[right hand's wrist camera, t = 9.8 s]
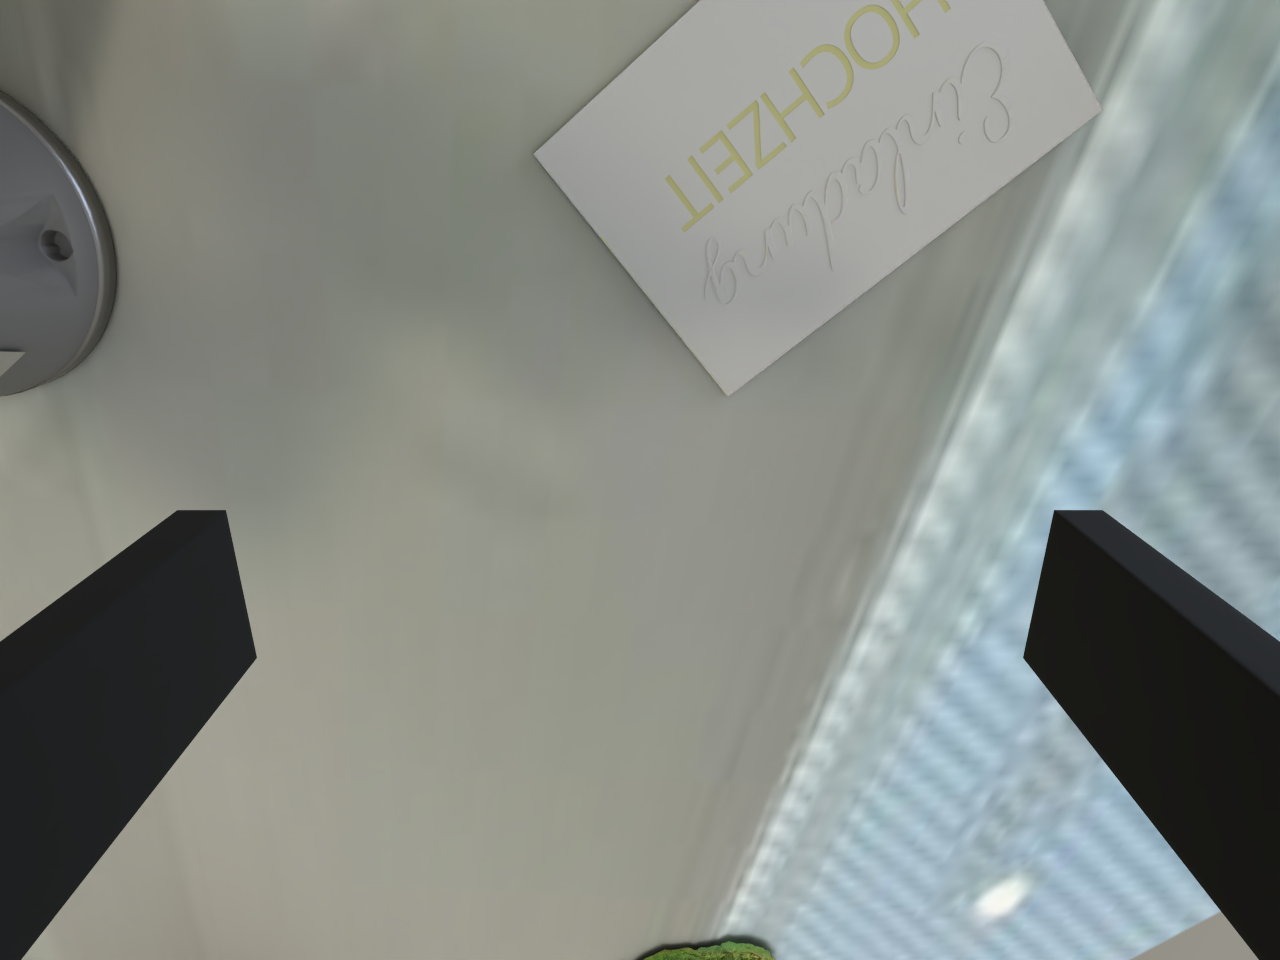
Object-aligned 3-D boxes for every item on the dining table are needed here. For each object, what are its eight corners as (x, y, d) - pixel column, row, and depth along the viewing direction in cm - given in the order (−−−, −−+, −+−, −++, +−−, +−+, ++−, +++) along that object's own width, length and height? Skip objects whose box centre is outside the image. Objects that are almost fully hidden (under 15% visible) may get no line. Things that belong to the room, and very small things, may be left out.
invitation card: (929, -211, 32) (1103, 109, 36) (926, -208, 32) (1100, 110, 36) (533, 154, 37) (728, 397, 41) (533, 154, 37) (727, 396, 41)
